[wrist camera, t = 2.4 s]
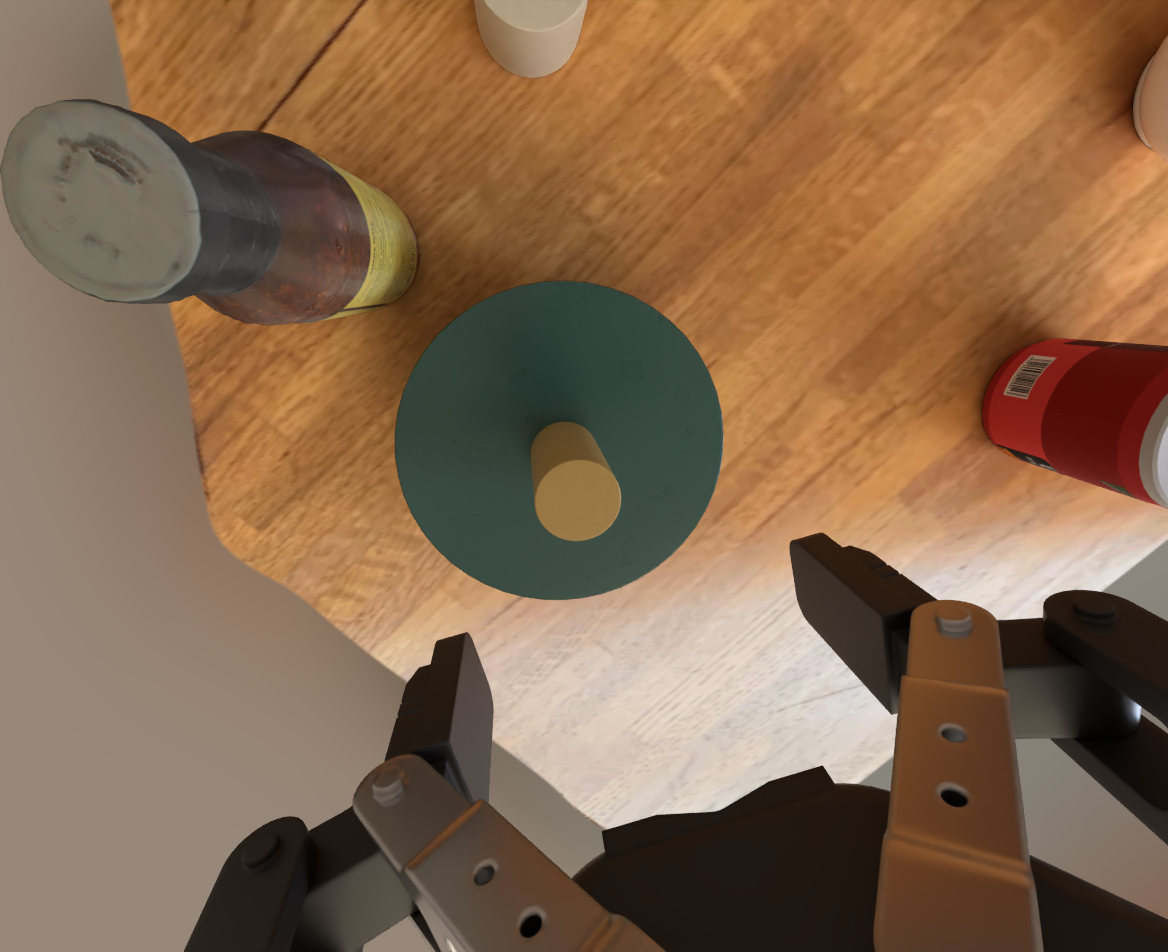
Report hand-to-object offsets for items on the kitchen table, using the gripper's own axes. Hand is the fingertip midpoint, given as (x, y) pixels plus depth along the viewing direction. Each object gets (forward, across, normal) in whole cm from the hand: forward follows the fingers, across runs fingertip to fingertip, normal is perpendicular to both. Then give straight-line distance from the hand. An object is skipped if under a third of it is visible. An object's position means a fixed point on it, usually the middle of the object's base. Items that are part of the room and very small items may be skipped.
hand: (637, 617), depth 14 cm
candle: (+22, -4, -20) cm, 30 cm away
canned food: (+22, -30, +7) cm, 38 cm away
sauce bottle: (+22, +8, -12) cm, 27 cm away
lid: (+15, 0, 0) cm, 15 cm away
